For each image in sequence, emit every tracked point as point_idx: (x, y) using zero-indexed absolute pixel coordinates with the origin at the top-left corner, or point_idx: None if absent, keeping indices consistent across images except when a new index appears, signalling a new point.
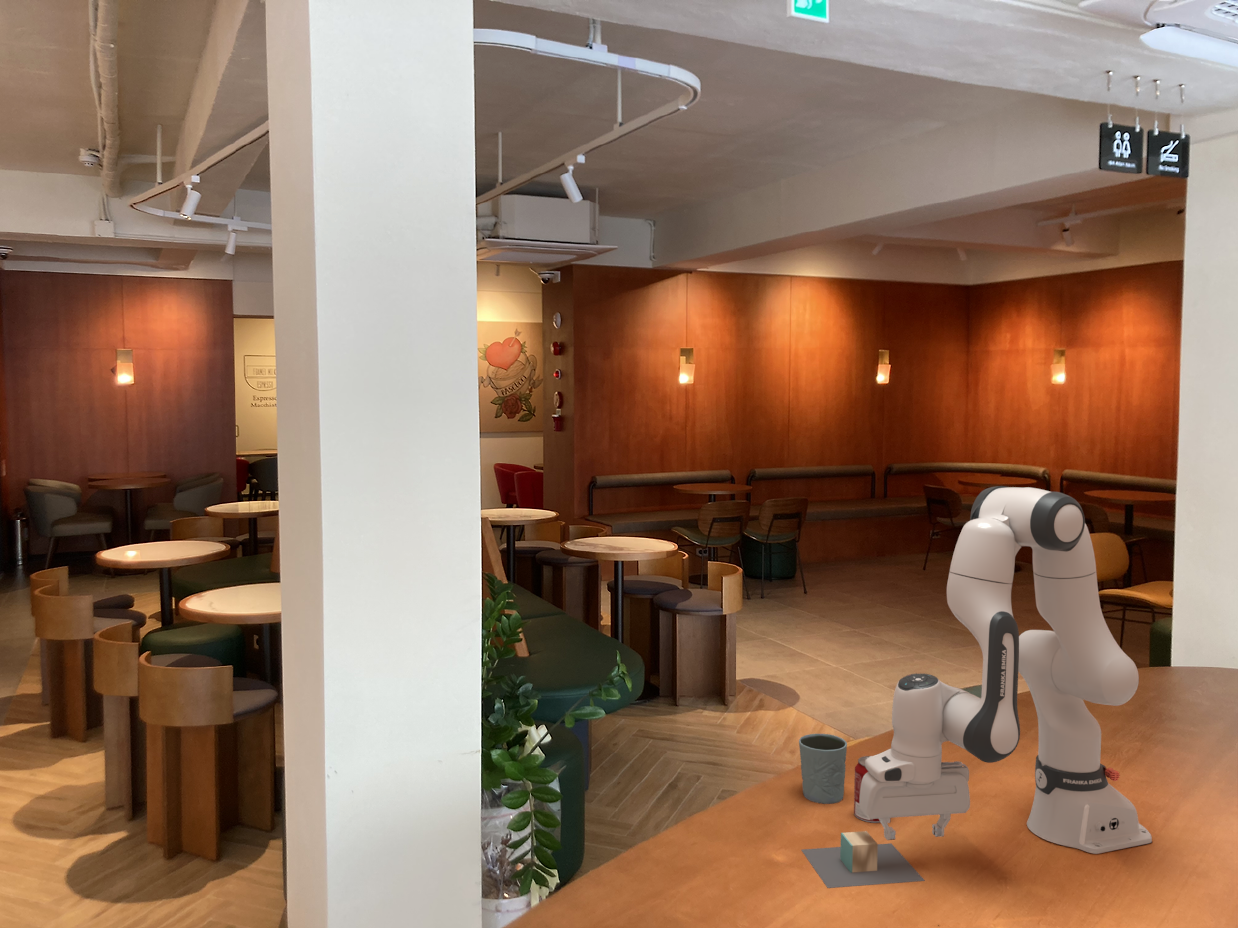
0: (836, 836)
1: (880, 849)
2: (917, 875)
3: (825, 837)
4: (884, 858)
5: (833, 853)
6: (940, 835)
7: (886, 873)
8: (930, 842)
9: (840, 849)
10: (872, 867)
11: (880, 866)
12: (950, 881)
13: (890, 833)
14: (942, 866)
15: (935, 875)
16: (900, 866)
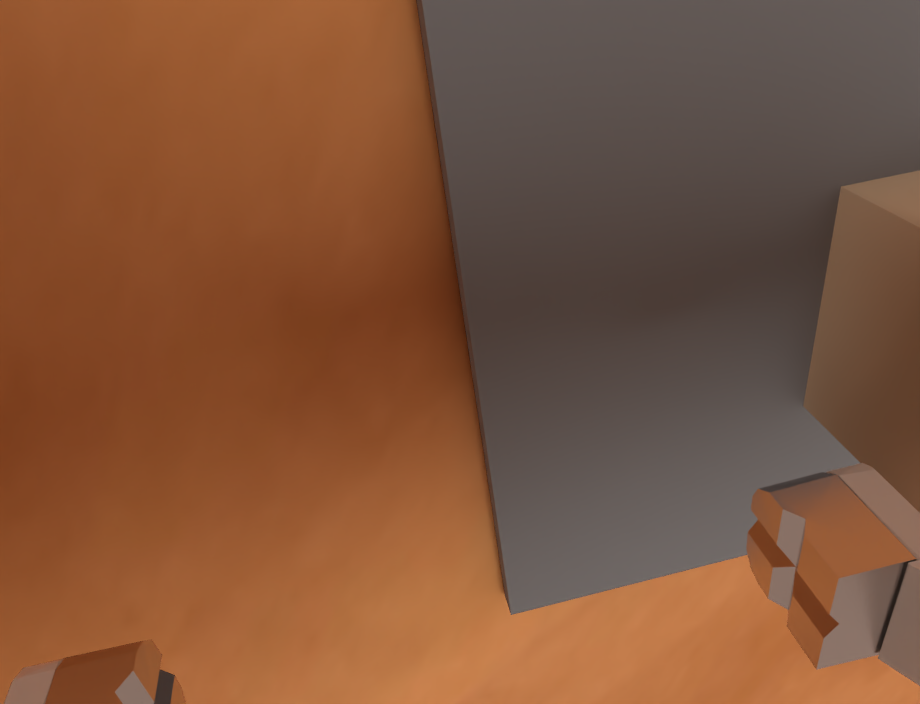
0: None
1: (631, 525)
2: (471, 101)
3: None
4: (662, 404)
5: None
6: (73, 663)
7: (781, 132)
8: None
9: None
10: (912, 187)
11: (767, 266)
12: (65, 36)
13: (898, 529)
14: (126, 364)
15: (237, 177)
16: (582, 281)
